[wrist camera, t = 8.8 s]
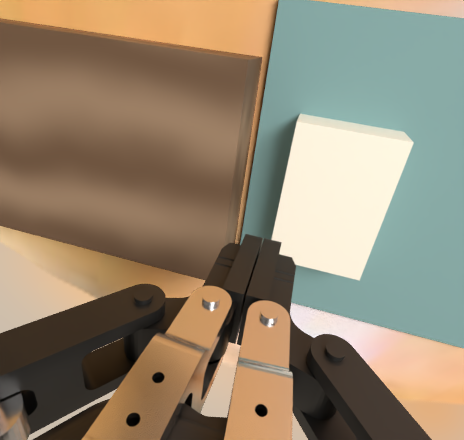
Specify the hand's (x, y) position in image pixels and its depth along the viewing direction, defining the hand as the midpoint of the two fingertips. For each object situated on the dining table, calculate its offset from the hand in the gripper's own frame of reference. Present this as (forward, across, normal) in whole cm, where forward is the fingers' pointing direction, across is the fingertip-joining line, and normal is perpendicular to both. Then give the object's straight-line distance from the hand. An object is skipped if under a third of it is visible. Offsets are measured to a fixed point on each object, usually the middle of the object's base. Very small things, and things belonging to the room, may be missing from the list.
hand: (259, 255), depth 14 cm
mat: (+10, -7, 0) cm, 12 cm away
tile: (+7, -3, +1) cm, 8 cm away
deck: (+10, +13, 0) cm, 16 cm away
